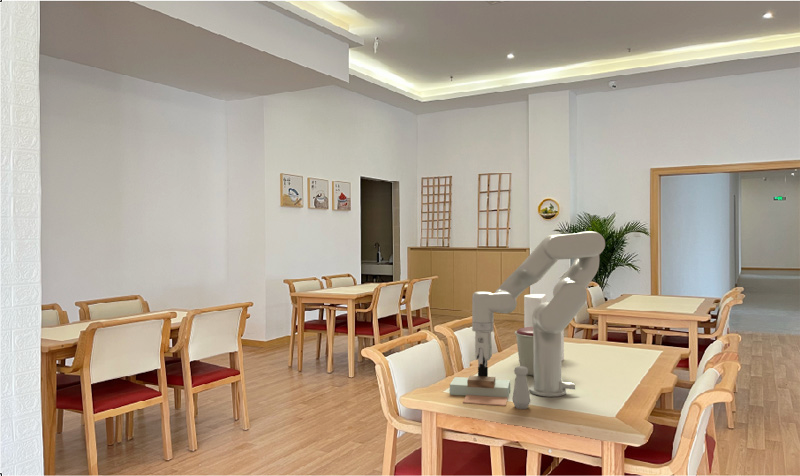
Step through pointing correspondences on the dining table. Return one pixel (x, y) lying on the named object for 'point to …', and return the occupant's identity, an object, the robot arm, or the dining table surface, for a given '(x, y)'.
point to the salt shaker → (521, 388)
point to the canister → (526, 348)
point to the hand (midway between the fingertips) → (482, 378)
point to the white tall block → (529, 307)
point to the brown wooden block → (481, 382)
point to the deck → (460, 388)
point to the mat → (485, 400)
